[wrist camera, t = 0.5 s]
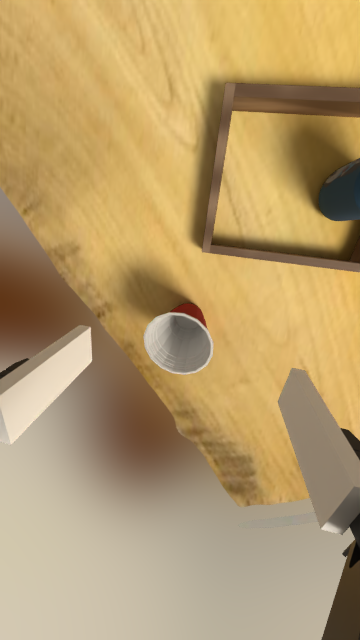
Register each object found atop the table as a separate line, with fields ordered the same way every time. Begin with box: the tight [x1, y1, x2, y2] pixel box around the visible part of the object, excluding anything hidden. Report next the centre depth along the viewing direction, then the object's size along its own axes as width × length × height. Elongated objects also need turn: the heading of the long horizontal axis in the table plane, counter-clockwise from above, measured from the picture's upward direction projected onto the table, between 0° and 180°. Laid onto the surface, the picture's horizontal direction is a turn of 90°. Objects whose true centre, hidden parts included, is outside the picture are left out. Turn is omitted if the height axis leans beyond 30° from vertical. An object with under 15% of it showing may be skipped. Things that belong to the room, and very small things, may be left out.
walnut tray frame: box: [202, 83, 360, 272], centre depth 30 cm, size 20×25×4 cm
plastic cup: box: [144, 303, 213, 375], centre depth 37 cm, size 11×11×12 cm
